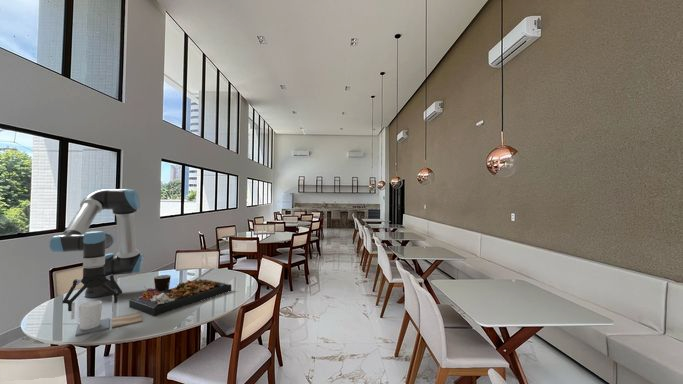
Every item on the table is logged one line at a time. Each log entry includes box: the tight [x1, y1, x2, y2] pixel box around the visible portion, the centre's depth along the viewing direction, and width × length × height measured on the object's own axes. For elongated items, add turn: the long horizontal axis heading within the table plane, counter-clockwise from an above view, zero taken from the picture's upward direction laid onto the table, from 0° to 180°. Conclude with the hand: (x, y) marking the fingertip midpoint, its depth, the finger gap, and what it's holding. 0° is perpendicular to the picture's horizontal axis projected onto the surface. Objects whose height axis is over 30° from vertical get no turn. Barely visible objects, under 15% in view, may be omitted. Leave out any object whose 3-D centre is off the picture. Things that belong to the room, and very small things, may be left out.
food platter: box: [128, 278, 232, 317], centre depth 168 cm, size 45×25×10 cm, turn 150°
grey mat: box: [75, 317, 110, 337], centre depth 130 cm, size 13×11×1 cm
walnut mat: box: [111, 311, 143, 329], centre depth 138 cm, size 13×11×1 cm
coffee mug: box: [153, 274, 171, 292], centre depth 178 cm, size 12×9×10 cm
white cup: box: [78, 300, 103, 330], centre depth 130 cm, size 8×8×10 cm
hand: (93, 314), depth 130 cm, fingers open, 13 cm apart
